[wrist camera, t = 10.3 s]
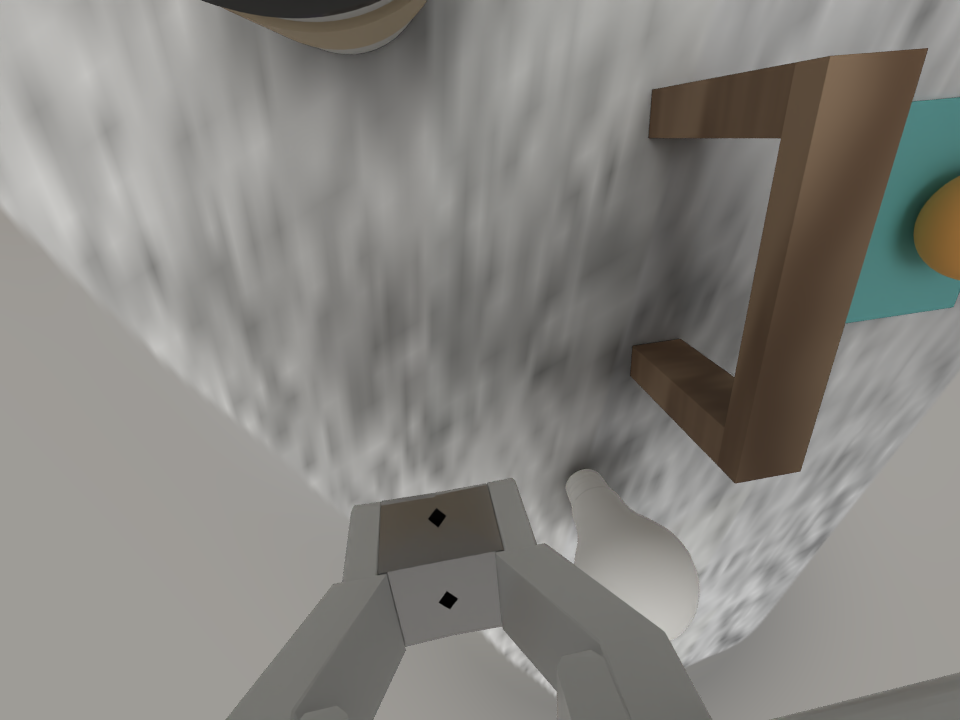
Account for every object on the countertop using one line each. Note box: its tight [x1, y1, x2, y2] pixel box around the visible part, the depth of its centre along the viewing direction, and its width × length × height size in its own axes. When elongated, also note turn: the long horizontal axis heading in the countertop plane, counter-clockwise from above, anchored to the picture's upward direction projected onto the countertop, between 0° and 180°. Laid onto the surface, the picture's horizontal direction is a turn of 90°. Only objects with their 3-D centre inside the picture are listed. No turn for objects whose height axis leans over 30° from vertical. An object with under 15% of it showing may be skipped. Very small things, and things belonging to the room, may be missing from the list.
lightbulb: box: [566, 469, 699, 642], centre depth 26 cm, size 6×6×11 cm
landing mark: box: [845, 97, 960, 323], centre depth 26 cm, size 12×12×1 cm
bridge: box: [630, 48, 928, 483], centre depth 20 cm, size 3×15×10 cm, turn 5°
